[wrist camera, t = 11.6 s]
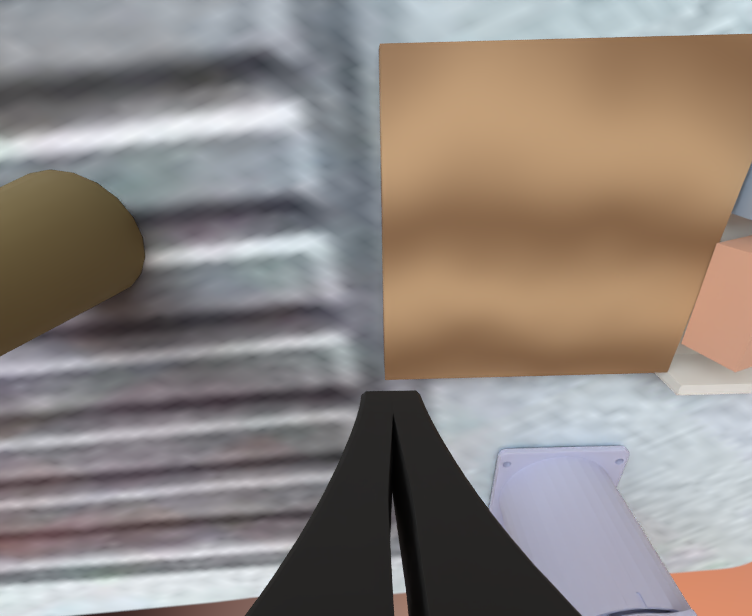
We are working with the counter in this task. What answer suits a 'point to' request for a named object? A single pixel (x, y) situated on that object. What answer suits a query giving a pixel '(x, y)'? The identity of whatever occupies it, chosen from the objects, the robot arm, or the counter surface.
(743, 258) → the terracotta tile
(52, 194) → the olive lobed plate
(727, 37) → the oak board
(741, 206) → the slate tile
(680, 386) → the tray
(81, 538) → the counter surface
